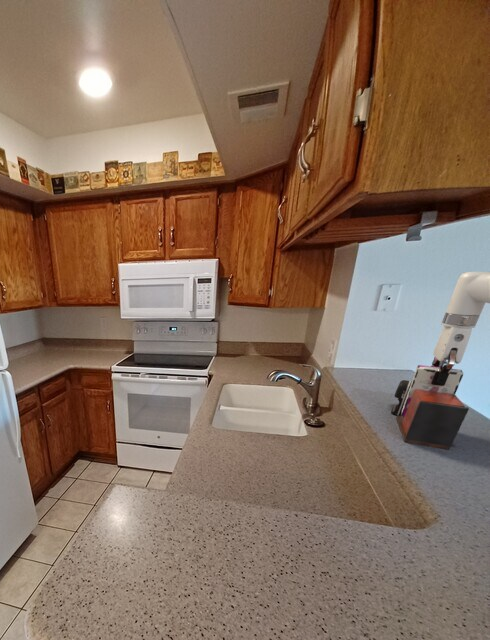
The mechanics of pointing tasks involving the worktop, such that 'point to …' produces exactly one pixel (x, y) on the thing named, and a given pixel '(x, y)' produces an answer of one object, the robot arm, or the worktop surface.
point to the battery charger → (401, 396)
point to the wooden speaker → (432, 419)
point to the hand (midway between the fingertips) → (435, 381)
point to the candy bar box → (424, 380)
